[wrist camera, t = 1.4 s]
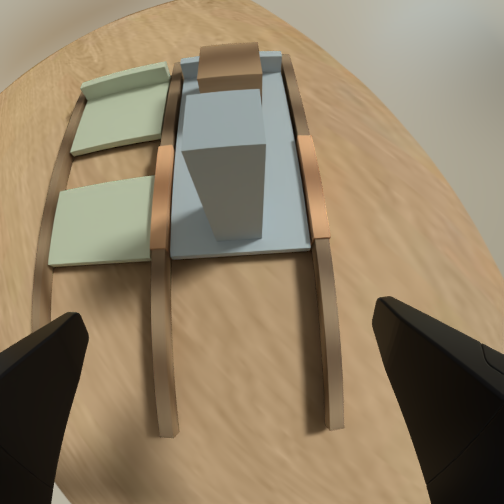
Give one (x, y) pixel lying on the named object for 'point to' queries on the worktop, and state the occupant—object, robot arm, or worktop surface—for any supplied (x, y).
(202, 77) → the walnut cube
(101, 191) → the broken strip
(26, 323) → the worktop surface
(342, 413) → the lane rails
